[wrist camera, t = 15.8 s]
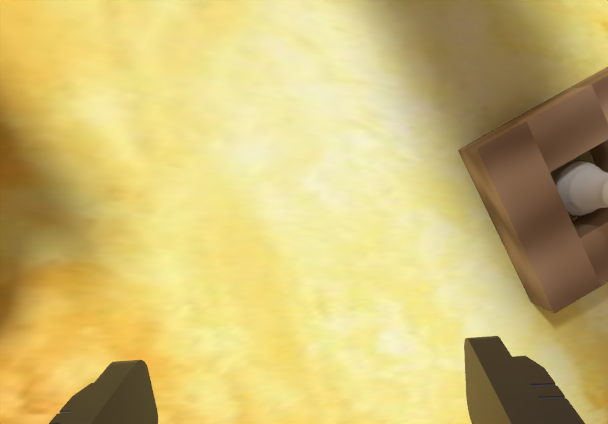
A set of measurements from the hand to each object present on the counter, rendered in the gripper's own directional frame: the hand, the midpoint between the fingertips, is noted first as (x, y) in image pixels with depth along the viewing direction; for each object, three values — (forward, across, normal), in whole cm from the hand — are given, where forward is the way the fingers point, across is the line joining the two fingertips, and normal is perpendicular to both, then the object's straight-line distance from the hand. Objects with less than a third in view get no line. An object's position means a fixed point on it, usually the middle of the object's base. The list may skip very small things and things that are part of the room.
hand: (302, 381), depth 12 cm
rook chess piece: (+29, -19, +3) cm, 35 cm away
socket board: (+29, -19, +3) cm, 35 cm away
